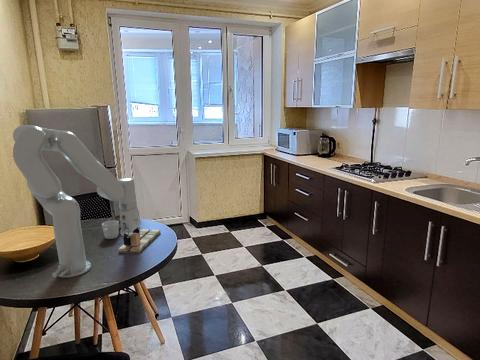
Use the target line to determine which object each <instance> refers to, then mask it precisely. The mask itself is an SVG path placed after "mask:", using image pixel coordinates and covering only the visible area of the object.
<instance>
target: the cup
mask: <svg viewBox="0 0 480 360" xmlns="http://www.w3.org/2000/svg"><path fill="white" fill-rule="evenodd" d="M101 227H102V232H103V235H104V238H105V239H106V240H114V239H116V238H118V236H119V234H120V231H119V229H120V228H119V222H118V221H116V220H106V221H104V222H101Z"/></svg>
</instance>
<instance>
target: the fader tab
mask: <svg viewBox="0 0 480 360" xmlns="http://www.w3.org/2000/svg"><path fill="white" fill-rule="evenodd" d="M126 234H128V232H126ZM129 237H130V238H131V246H132V247H133V246H138V245H139V244H140V235H139V233H133V232H130V236H129Z"/></svg>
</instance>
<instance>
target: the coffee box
mask: <svg viewBox="0 0 480 360" xmlns="http://www.w3.org/2000/svg"><path fill="white" fill-rule="evenodd" d="M109 205H110V212H111V219H112V220H116V221H118V222H119V229H121V222H120V211H121V210H120V207H119V200H118V201H111V200H109Z"/></svg>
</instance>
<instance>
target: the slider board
mask: <svg viewBox="0 0 480 360" xmlns="http://www.w3.org/2000/svg"><path fill="white" fill-rule="evenodd" d="M139 230H140V244H139V245H138V246H133V247H132V246H125V245H124V243H123V244H122V245H121V246H120V247H118V248H117V249H118V253H119V254H137V255H138V254H141V253H142V252H143V250H145V249H146V248H147V247H148V246H149V245H150V244H151V243H152V242H153V241H154V240H155V239H156V238H157V237H159V235H160V234H161V229H154V228H153V229H151V230H150V229H149V228H142V229H139Z"/></svg>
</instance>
